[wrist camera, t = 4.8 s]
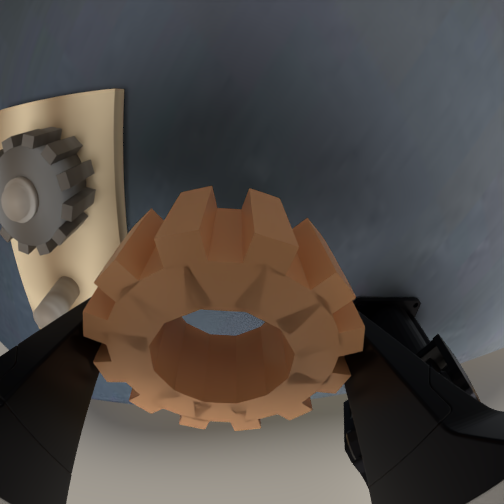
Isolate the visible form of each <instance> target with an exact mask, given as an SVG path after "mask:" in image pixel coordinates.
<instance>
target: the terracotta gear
mask: <svg viewBox="0 0 504 504" xmlns="http://www.w3.org/2000/svg"><path fill="white" fill-rule="evenodd" d="M94 284H95V285H97V286H98V287H97V289H96V291H95V292H94V294H93V295H92V297H91V299H90V300H89V302H88V304H87V305H86V307H85V309H84V310H83V336H84V337H87V338H90V339H92V340H95V341H98V342H101V346H100V348H99V350H98V352H97V354H96V356H95V358H94V361H93V363H94V364H95V366H96V367H97V368H98V370H99V371H100V373H101V374H102V375H103V377H104V378H105V379H106V381H107V382H126V383H127V384H129V385H130V386H131V387H132V391H131V395H130V399H129V401H130V402H132V403H133V404H135V405H137V406H138V407H140V408H142V409H144V410H146V411H147V412H149V413H151V414H152V413H154V412H156V411H158V410H161V409H166V410H169V411H172V412H174V413H177V414H179V415H180V420H179V424H181V425H185V426H190V427H195V428H200V429H205V428H206V426H207V425H208V423H209V421H215V422H231V424H232V426H233V428H234V430H235V431H239V430H249V429H258V428H261V421H260V419H261V418H265V417H269V416H272V415H276V414H278V415H281V416H282V417H284V418H286V419H288V420H292V419H294V418H296V417H299V416H301V415H303V414H305V413H307V412H309V411H311V410H312V405H311V400H310V396H311V395H313V394H314V393H315V392H325V393H336V392H337V391H338V390H339V389H340V388H341V387H342V385H343V384H344V383H345V382H346V381H347V380H348V379H349V377H350V376H351V373H350V370H349V368H348V365H347V363H346V360H345V357H344V355H348V354H352V353H357V352H361V351H363V343H364V333H365V326H364V324H363V322H362V320H361V317H360V315H359V313H358V311H357V309H356V307H355V305H354V303H353V301H352V300H354V299H355V298H356V296H355V294H354V292H353V290H352V288H351V286H350V284H349V283H348V281H347V279H346V277H345V275H344V273H343V272H342V270H341V268H340V266H339V264H338V262H337V261H336V259H335V257H334V255H333V254H332V252H331V250H330V248H329V246H328V245H327V243H326V241H325V239H324V238H323V237H322V235H321V234H320V233H319V232H318V230H317V229H316V228H315V227H314V225H313V224H312V223H311V221H310V220H309V219H308V218H306V219H305V220H304V221H302V222H301V223H300V224H298V225H297V226H296V227H294V228H293V229H292V228H291V225H290V223H289V220H288V218H287V215H286V213H285V210H284V208H283V205H282V203H281V200H280V198H277V197H274V196H272V195H269V194H266V193H263V192H260V191H257V190H254V189H251V188H249V190H248V193H247V196H246V198H245V201H244V204H243V206H242V209H227V208H217V204H216V200H215V196H214V191H213V187H212V186H208V187H203V188H199V189H194V190H189V191H185V192H181V193H180V195H179V196H178V198H177V200H176V201H175V203H174V205H173V206H172V208H171V210H170V211H169V213H168V215H167V217H166V218H165V220H163V219H162V218H161V217H160V216H159V215H158V214H157V213H156V212H155V211H154V210H153V209H152V208H151V209H150V210H149V211H148V212H147V213H146V214H145V215H144V216H143V217H142V218H141V219H140V220H139V221H138V222H137V223H136V224H135V226H134V227H133V228H132V229H131V230H130V232H129V233H128V234H127V236H126V237H125V238H124V240H123V241H122V242H121V244H120V245H119V247H118V248H117V249H116V251H115V252H114V254H113V255H112V256H111V258H110V259H109V261H108V262H107V264H106V265H105V266H104V268H103V269H102V271H101V272H100V274H99V275H98V277H97V278H96V280H95V281H94ZM200 309H204V310H221V311H240V312H247V313H249V314H251V315H253V316H255V317H257V318H259V319H261V320H263V321H265V323H264V324H263V325H262V326H261V327H259V328H256V329H254V330H251V331H248V332H245V333H243V334H240V335H237V336H230V335H211V334H208V333H206V332H204V331H202V330H200V329H198V328H195V327H193V326H191V325H189V324H187V323H186V322H185V321H184V319H183V318H182V316H184V315H187V314H189V313H192V312H195V311H197V310H200Z"/></svg>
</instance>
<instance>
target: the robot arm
mask: <svg viewBox="0 0 504 504" xmlns="http://www.w3.org/2000/svg"><path fill="white" fill-rule="evenodd" d="M90 299H91V297H90V298H89V299H87V300H85V301H84V302H82V303H81V304H79V305H77V306H76V307H74V308H73V309H71V310H70V311H68V312H66V313H65V314H63V315H62V316H60V317H59V318H57V319H56V320H54V321H53V322H51V323H49V324H48V325H46V326H45V327H43V328H42V329H40V330H39V331H37V332H36V333H34V334H33V335H31V336H30V337H28V338H27V339H25V340H24V341H22V342H21V343H19V344H18V346H15V347H14V348H12V349H11V350H9V351H8V352H6V353H5V354H3V355H2V356H0V504H66V501H67V495H68V490H69V485H70V480H71V473H72V469H73V465H74V460H75V456H76V452H77V448H78V443H79V440H80V436H81V431H82V428H83V424H84V421H85V417H86V414H87V410H88V407H89V404H90V400H91V397H92V394H93V390H94V387H95V384H96V381H97V378H98V375H99V372H100V371H99V370H98V368H97V367H96V366H95V364H94V363H93V361H94V358H95V356H96V354H97V352H98V350H99V348H100V346H101V342H98V341H95V340H92V339H90V338H87V337H84V336H83V310H84V309H85V307H86V305H87V304H88V302H89V300H90ZM353 303H354V305H355V307H356V309H357V311H358V313H359V315H360V317H361V320H362V322H363V324H364V326H365V333H364V343H363V351H361V352H357V353H352V354H348V355H344V357H345V360H346V363H347V365H348V368H349V370H350V373H351V376H350V377H349V379H348V380H347V381H346V382H345V383H344V385H345V389H346V392H347V396H348V400H347V401H345V402H344V442H345V451H346V453H347V454H348V456H349V458H350V460H351V462H352V463H353V465H354V466H355V467H356V469H357V470H358V471H359V472H360V474H361V475H362V477H363V479H364V480H365V482H366V484H367V486H368V488H369V492H370V497H371V502H372V504H504V412H502V411H497V410H494V409H491V408H489V407H487V406H486V405H484V404H483V403H481V402H480V399H479V397H478V395H477V393H476V392H475V389H474V387H473V385H472V384H471V382H470V380H469V378H468V376H467V374H466V373H465V371H464V370H463V368H462V366H461V365H460V363H459V362H458V360H457V359H456V357H455V356H454V354H453V353H452V351H451V350H450V349H449V347H448V346H447V345H446V343H445V342H444V341H443V339H442V338H441V337H440V336H439V334H437V335H436V336H435V337H434V338H433V340H432V341H431V342H430V340H429V339H428V337H427V336H426V334H425V333H424V331H423V329H422V328H421V326H420V325H419V323H418V322H417V320H416V319H415V315H416V313H417V311H418V309H419V307H420V304H421V303H420V301H419V299H418V298H358V299H356V300H355V301H354V302H353ZM359 304H361V305H359Z"/></svg>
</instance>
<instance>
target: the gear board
mask: <svg viewBox="0 0 504 504" xmlns="http://www.w3.org/2000/svg"><path fill="white" fill-rule="evenodd" d="M123 108H124V89H106V90H97V91H90V92H82V93H76V94H70V95H64V96H58V97H53V98H48V99H43V100H39V101H34V102H30V103H26V104H21V105H17V106H14V107H10V108H6V109H3V110H0V223H1V225H2V228H1V231H0V234H1V236H2V237H3V238H4V239H5V240H6V241H7V242H9V241H10V240H11V243H12V247H13V251H14V255H15V258H16V262H17V266H18V269H19V272H20V276H21V279H22V282H23V285H24V288H25V291H26V294H27V297H28V300H29V303H30V305H31V308H32V311H33V317H34V320H35V322H36V323H37V325H38V326H39V328H40V329H42V328H43V327H45V326H46V325H48V324H49V323H51V322H53V321H54V320H56V319H57V318H59V317H60V316H62V315H63V314H65V313H66V312H68V311H70V310H71V309H73V308H74V307H76V306H77V305H79V304H81V303H82V302H84V301H85V300H87V299H89V298H90V297H92V295H93V294H94V292H95V291H96V289H97V287H98V286H97V285H95V284H94V281H95V280H96V278H97V277H98V275H99V274H100V272H101V271H102V269H103V268H104V266H105V265H106V264H107V262H108V261H109V259H110V258H111V256H112V255H113V254H114V252H115V251H116V249H117V248H118V247H119V245H120V244H121V242H122V241H123V240H124V238H125V237H126V236H127V223H126V210H125V195H124V172H123Z"/></svg>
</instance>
